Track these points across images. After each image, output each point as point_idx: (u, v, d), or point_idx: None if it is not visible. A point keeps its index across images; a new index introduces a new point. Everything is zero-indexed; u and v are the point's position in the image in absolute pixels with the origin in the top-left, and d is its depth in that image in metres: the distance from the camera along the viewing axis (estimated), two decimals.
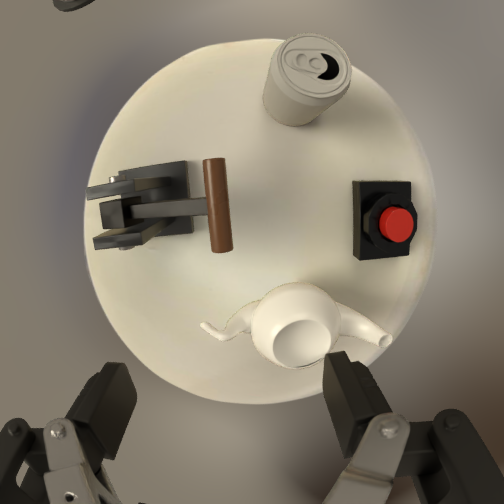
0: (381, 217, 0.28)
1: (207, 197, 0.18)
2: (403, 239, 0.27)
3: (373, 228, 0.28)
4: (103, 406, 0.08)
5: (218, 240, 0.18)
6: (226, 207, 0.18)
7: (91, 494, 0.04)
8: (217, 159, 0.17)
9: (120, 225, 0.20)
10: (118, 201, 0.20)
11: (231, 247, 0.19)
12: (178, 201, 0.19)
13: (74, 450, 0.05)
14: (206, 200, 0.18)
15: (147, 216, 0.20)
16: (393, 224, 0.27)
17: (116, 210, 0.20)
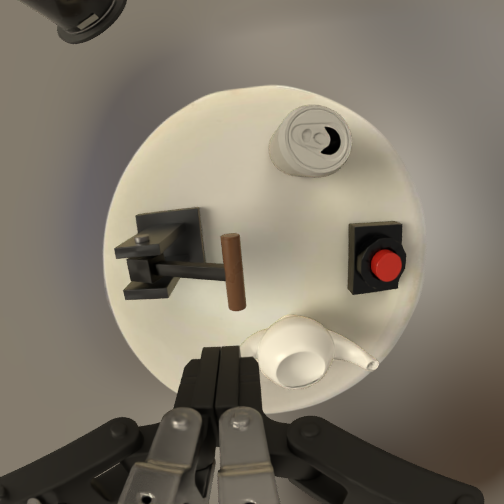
0: (373, 259, 0.32)
1: (225, 268, 0.22)
2: (391, 279, 0.32)
3: (365, 269, 0.33)
4: (217, 390, 0.09)
5: (234, 301, 0.22)
6: (241, 276, 0.22)
7: None
8: (233, 238, 0.21)
9: (148, 281, 0.24)
10: (145, 261, 0.24)
11: (245, 306, 0.23)
12: (200, 267, 0.23)
13: (187, 449, 0.06)
14: (224, 269, 0.22)
15: (172, 275, 0.24)
16: (383, 266, 0.31)
17: (143, 268, 0.24)
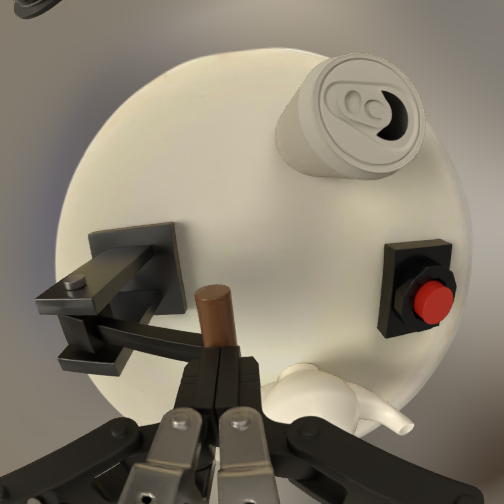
0: (418, 295, 0.22)
1: None
2: (439, 320, 0.21)
3: (407, 309, 0.22)
4: (217, 390, 0.09)
5: None
6: None
7: None
8: (219, 299, 0.11)
9: (88, 349, 0.14)
10: (80, 321, 0.13)
11: None
12: (163, 340, 0.12)
13: (187, 450, 0.06)
14: None
15: (122, 345, 0.13)
16: (431, 306, 0.20)
17: (79, 330, 0.13)
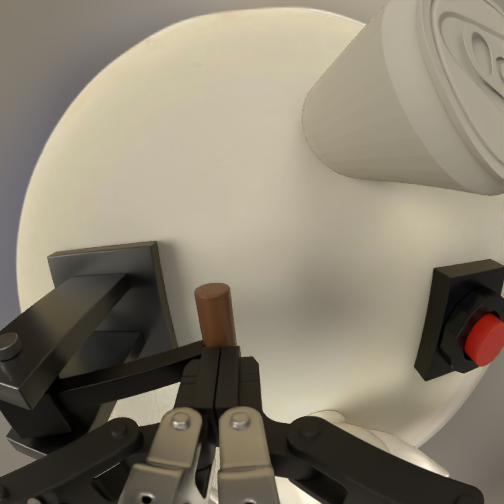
0: (472, 334, 0.15)
1: None
2: (490, 360, 0.14)
3: (458, 350, 0.15)
4: (216, 390, 0.09)
5: None
6: None
7: None
8: (229, 291, 0.11)
9: (60, 429, 0.08)
10: (42, 396, 0.07)
11: None
12: (164, 366, 0.10)
13: (187, 449, 0.06)
14: None
15: (104, 401, 0.09)
16: (486, 346, 0.14)
17: (42, 410, 0.07)
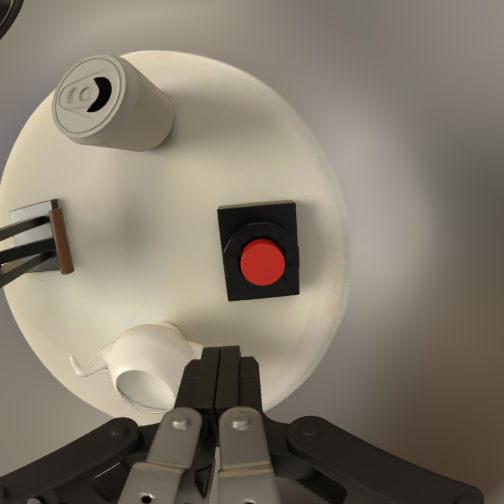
0: (241, 254, 0.24)
1: (55, 236, 0.21)
2: (270, 282, 0.24)
3: (231, 267, 0.25)
4: (217, 390, 0.09)
5: (66, 265, 0.22)
6: (67, 241, 0.22)
7: None
8: (59, 209, 0.21)
9: None
10: None
11: (73, 268, 0.23)
12: (34, 243, 0.20)
13: (186, 449, 0.06)
14: (54, 239, 0.21)
15: (10, 260, 0.19)
16: (252, 264, 0.23)
17: None
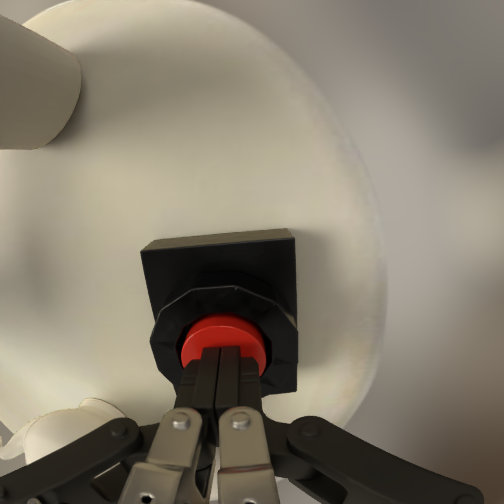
0: (187, 333, 0.12)
1: None
2: None
3: (167, 363, 0.12)
4: (216, 390, 0.09)
5: None
6: None
7: None
8: None
9: None
10: None
11: None
12: None
13: (186, 449, 0.06)
14: None
15: None
16: None
17: None
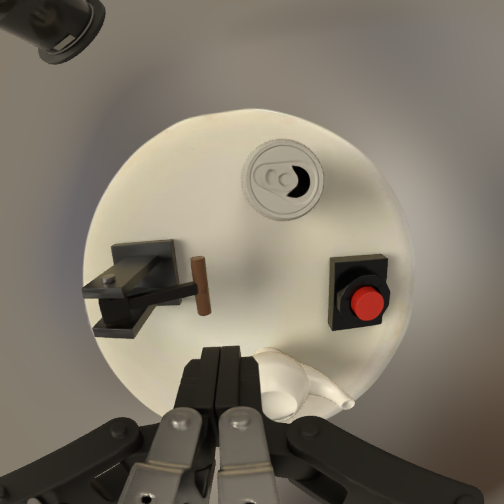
0: (353, 297, 0.31)
1: (199, 283, 0.28)
2: (372, 317, 0.30)
3: (344, 307, 0.31)
4: (216, 390, 0.09)
5: (207, 307, 0.29)
6: None
7: None
8: (204, 259, 0.28)
9: (127, 317, 0.24)
10: (124, 298, 0.24)
11: (210, 309, 0.30)
12: (176, 289, 0.27)
13: (187, 449, 0.06)
14: (197, 285, 0.28)
15: (148, 304, 0.26)
16: (363, 306, 0.30)
17: (121, 305, 0.24)
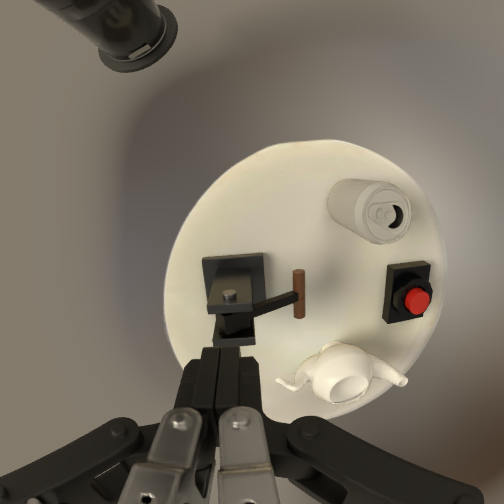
0: (407, 296, 0.36)
1: (300, 292, 0.33)
2: (421, 312, 0.36)
3: (400, 304, 0.37)
4: (217, 390, 0.09)
5: (303, 311, 0.34)
6: None
7: None
8: (304, 271, 0.33)
9: (246, 326, 0.29)
10: None
11: None
12: (283, 298, 0.32)
13: (187, 450, 0.06)
14: (298, 293, 0.33)
15: (261, 313, 0.31)
16: (415, 303, 0.35)
17: (243, 317, 0.29)
